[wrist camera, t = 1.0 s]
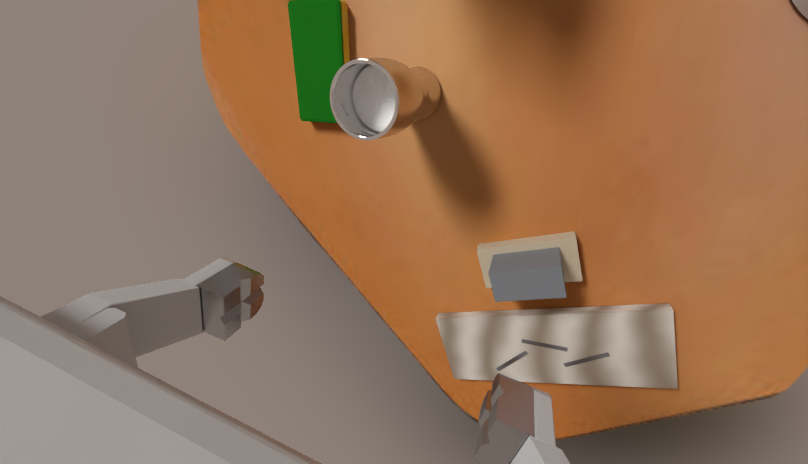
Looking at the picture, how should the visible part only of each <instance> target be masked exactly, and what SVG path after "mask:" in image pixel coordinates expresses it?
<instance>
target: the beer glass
mask: <svg viewBox="0 0 808 464" xmlns="http://www.w3.org/2000/svg"><path fill="white" fill-rule="evenodd" d="M440 98H441V89H440V85H439V82H438V80H437V78H436V76H435V75H434V74H433V73H432V72H431V71H429V70H428V69H426V68H423V67H412V68H409V67H408V66H406V65H405V64H403V63H401V62H399V61H396V60H392V59H388V58H359V59H354V60H351V61H349V62H347V63H345V64H344V65H343V66H342V67H341V68H340V69H339V70H338V71H337V73H336V74H335V76H334V78H333V81H332V84H331V88H330V105H331V109H332V113H333V115H334V118H335V120H336V121H337V123H338V124H339V126H340V127H341V128H342V129H343V130H344V131H345V132H346V133H347V134H349V135H350V136H352V137H354V138H356V139H360V140H374V139H378V138H384V137H388V136H391V135H394V134H397V133H399V132H401V131H403V130H405V129H406V128H407V127H409V126H410V125H411V124H412V123H413V122H414V121H415V120H422V119H425V118H427V117H429V116H430V115H432V114H433V113H434V112H435V110H436V109H437V107H438V105H439V102H440Z"/></svg>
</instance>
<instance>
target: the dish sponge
mask: <svg viewBox="0 0 808 464" xmlns="http://www.w3.org/2000/svg"><path fill="white" fill-rule="evenodd" d="M288 10H289V20H290V29H291V38H292V47H293V56H294V66H295V75H296V84H297V93H298V103H299V112H300V118H301V120H302V121H313V122H327V123H337V121H336V120H335V118H334V115H333V113H332V109H331V105H330V88H331V84H332V81H333V78H334V76H335V74H336V73H337V71H338V70H339V69H340V68H341V67H342V66H343V65H344V64H345V63H347V62H349V61H350V50H349V27H348V5H347V3H346V2H345V1H343V0H293V1H289V3H288Z"/></svg>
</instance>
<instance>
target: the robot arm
mask: <svg viewBox="0 0 808 464" xmlns="http://www.w3.org/2000/svg"><path fill="white" fill-rule="evenodd" d="M792 1H793V3H794V5H795V6H796V8H797V9H798V10H799V11H800V12H801V14H802V15H804V16H805V17H806V18H807V19H808V0H792ZM263 284H264V276H263V275H262V274H261V273H259V272H257V271H254V270H252V269H250V268H248V267H246V266H243V265H241V264H239V263H236V262H234V261H232V260H229V259H227V258H220V259H218V260H216V261H215V262H213V263H211V264H209V265H208V266H206V267H204V268H203V269H201V270H199V271H197V272H195V273H194V274H192V275H190V276H189V277H187V278H185V279H183V280H181V279H179V278H178V279H172V280H166V281H161V282H154V283H148V284H142V285H136V286H130V287H124V288H119V289H113V290H106V291H100V292H95V293H89V294H87V295H85V296H83V297H81V298H79V299H77V300H74V301H72V302H70V303H68V304H66V305H64V306H62V307H60V308H58V309H56V310H54V311H52V312H50V313H48V314H45V315H43V316H42V317H40V316H38V315H36V314H34V313H32V312H30V311H28V310H26V309H24V308H22V307H21V306H19V305H17V304H15V303H13V302H11V301H9V300H7V299H5V298H3V297H1V296H0V464H321V463H319V462H317V461H315V460H313V459H311V458H309V457H308V456H306V455H304V454H302V453H300V452H298V451H296V450H294V449H292V448H290V447H288V446H286V445H284V444H283V443H281V442H279V441H277V440H275V439H273V438H271V437H269V436H267V435H265V434H263V433H262V432H260V431H257V430H256V429H254V428H252V427H250V426H248V425H246V424H244V423H242V422H240V421H238V420H237V419H235V418H233V417H231V416H229V415H227V414H225V413H223V412H221V411H219V410H217V409H215V408H214V407H212V406H210V405H208V404H206V403H204V402H202V401H200V400H198V399H196V398H194V397H192V396H191V395H189V394H187V393H185V392H183V391H181V390H179V389H177V388H175V387H173V386H172V385H169V384H168V383H166V382H164V381H162V380H160V379H158V378H156V377H154V376H152V375H150V374H149V373H146V372H145V371H143V370H141V369H139V368H138V366H137V362H136V357H138V356H140V355H143V354H146V353H149V352H151V351H154V350H157V349H160V348H162V347H165V346H168V345H170V344H173V343H176V342H179V341H181V340H184V339H187V338H189V337H192V336H195V335H198V334H200V333H203V331H204V332H206V333H208V334H211V335H213V336H215V337H218V338H220V339H222V340H224V341H226V339H228V338H229V337H230V336H231V335H233V334H234V333H235V332H236V331H237V330H238V329H239V328H240V327H241V322H242V321H246V320H249V319H251V318H252V317H253V316H254V315H255V314H257V312H258V311H259V309H260V307H261V306H262V302H263V297H264V296H263V295H264V294H263V292H262V290H261V288H260V287H261V286H262V285H263ZM478 423H479V425H480V427H481V429H480V431H479V433H478V435H477V437H476V445H475V453H474V459H475V460H477V461H479V462H481V463H483V464H570V463H569V461H568V459H567V458H566V456H565V455H564V453H563V451H562V450H561V449H559V448H557V447H556V442H555V431H554V421H553V410H552V399H551V396H550V394H549V393H546V392H544V391H542V390H539V389H537V388H534V387H531V386H529V385H526V384H524V383H522V382H519V381H517V380H514V379H512V378H509V377H507V376H505V375H502V374H500V373H498V374H497V375H496V376H495V378H494V380H493V384H492V390H489V391H488V392H487V394H486V396H485V398H484V401H483V404H482V406H481V410H480V415H479V422H478Z"/></svg>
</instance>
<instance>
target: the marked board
mask: <svg viewBox="0 0 808 464" xmlns="http://www.w3.org/2000/svg"><path fill="white" fill-rule="evenodd" d="M436 322H437V325H438V328H439V331H440V334H441V338H442V341H443V344H444V347H445V351H446V354H447V357H448V360H449V363H450V367H451V370H452V373H453V376H454V379H469V380H491V381H493V380H494V378H495V376H496V375H497V374H498V373H500V374H502V375H505V376H507V377H509V378H512V379H514V380H517V381H519V382H536V383H558V384H580V385H602V386H625V387H647V388H669V389H678V385H677V367H676V348H675V330H674V312H673V309H672V307H671V306H670V304H669V303H666V304H642V305H619V306H595V307H572V308H548V309H525V310H501V311H478V312H454V313H438V315H437V317H436Z"/></svg>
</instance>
